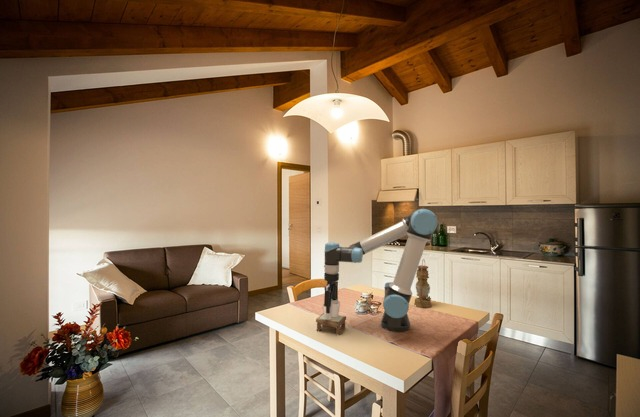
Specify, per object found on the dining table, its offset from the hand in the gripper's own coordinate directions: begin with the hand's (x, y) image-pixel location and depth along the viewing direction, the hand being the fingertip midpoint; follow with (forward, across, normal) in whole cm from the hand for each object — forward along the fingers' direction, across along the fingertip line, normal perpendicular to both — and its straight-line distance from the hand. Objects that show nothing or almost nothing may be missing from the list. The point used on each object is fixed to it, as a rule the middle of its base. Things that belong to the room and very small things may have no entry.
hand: (331, 316), depth 156 cm
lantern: (+6, -60, +41) cm, 73 cm away
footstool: (+7, 0, 0) cm, 7 cm away
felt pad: (+1, 0, 0) cm, 1 cm away
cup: (+1, 0, 0) cm, 1 cm away
